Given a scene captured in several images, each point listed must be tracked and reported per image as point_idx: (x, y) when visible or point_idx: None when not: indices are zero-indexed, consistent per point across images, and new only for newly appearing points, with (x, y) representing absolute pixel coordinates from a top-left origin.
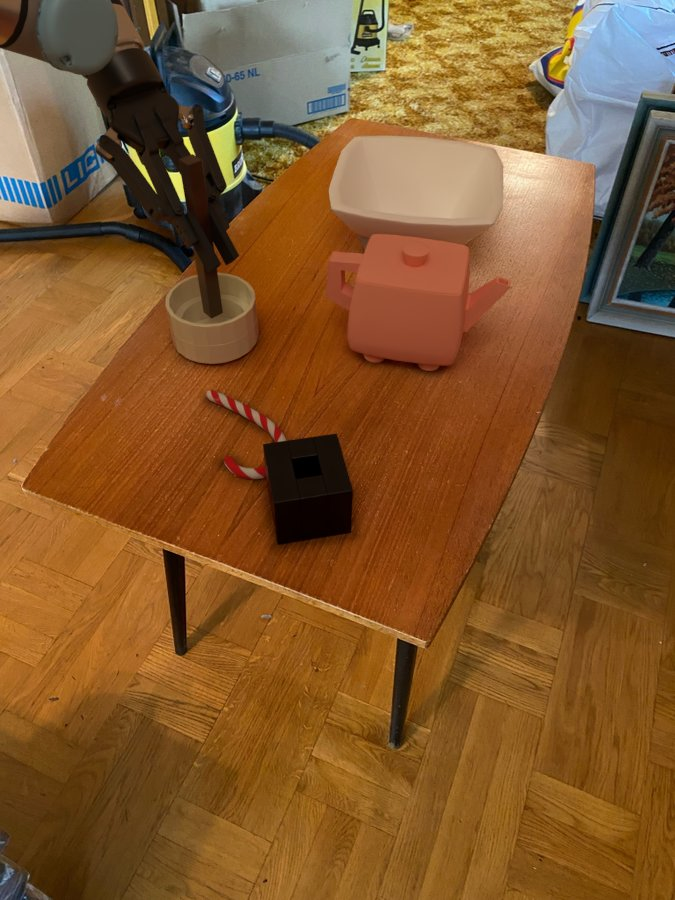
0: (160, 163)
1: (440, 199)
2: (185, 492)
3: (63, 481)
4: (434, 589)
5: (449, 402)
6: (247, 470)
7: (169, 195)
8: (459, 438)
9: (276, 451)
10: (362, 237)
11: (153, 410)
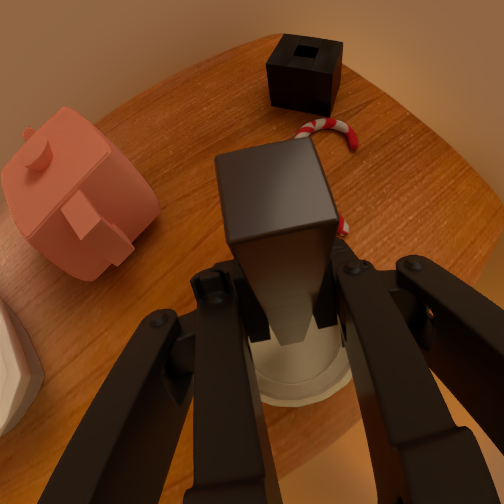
0: (397, 397)
1: None
2: (397, 142)
3: (489, 201)
4: (262, 42)
5: (137, 139)
6: (342, 123)
7: (380, 292)
8: (161, 108)
9: (324, 65)
10: (30, 369)
11: (408, 247)
